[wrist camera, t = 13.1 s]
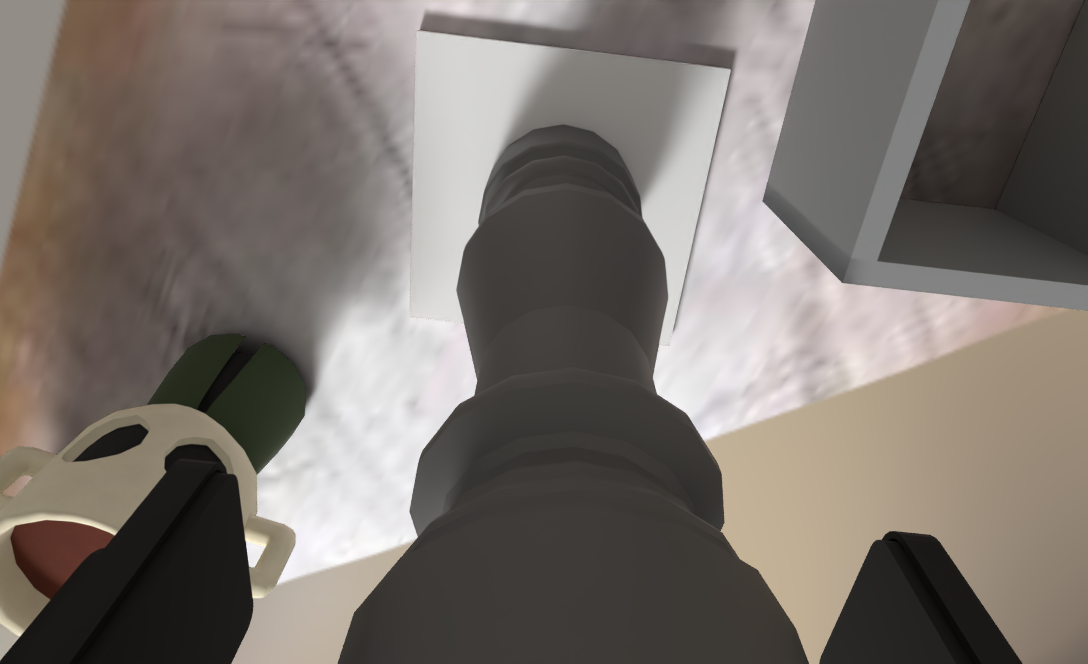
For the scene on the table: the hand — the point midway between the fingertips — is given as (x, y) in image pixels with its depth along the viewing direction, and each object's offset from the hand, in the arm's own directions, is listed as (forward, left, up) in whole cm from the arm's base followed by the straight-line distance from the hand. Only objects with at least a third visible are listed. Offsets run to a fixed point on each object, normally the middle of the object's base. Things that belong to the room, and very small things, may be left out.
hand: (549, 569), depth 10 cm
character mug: (+11, -14, -21) cm, 28 cm away
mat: (0, 0, -21) cm, 21 cm away
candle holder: (0, 0, -20) cm, 20 cm away
